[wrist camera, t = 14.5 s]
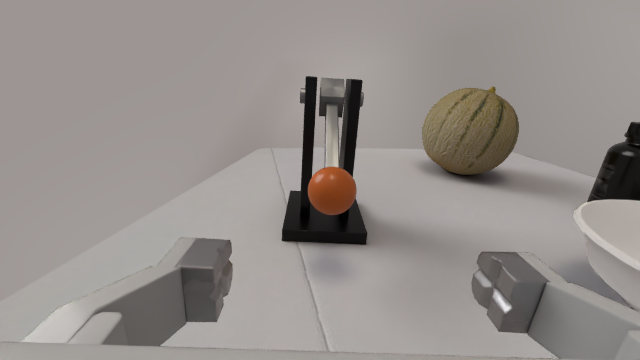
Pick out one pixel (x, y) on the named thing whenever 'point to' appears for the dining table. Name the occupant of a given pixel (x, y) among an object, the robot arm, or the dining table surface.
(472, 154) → the cantaloupe
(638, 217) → the bowl
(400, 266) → the dining table surface
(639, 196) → the supplement bottle
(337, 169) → the switch
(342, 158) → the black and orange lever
